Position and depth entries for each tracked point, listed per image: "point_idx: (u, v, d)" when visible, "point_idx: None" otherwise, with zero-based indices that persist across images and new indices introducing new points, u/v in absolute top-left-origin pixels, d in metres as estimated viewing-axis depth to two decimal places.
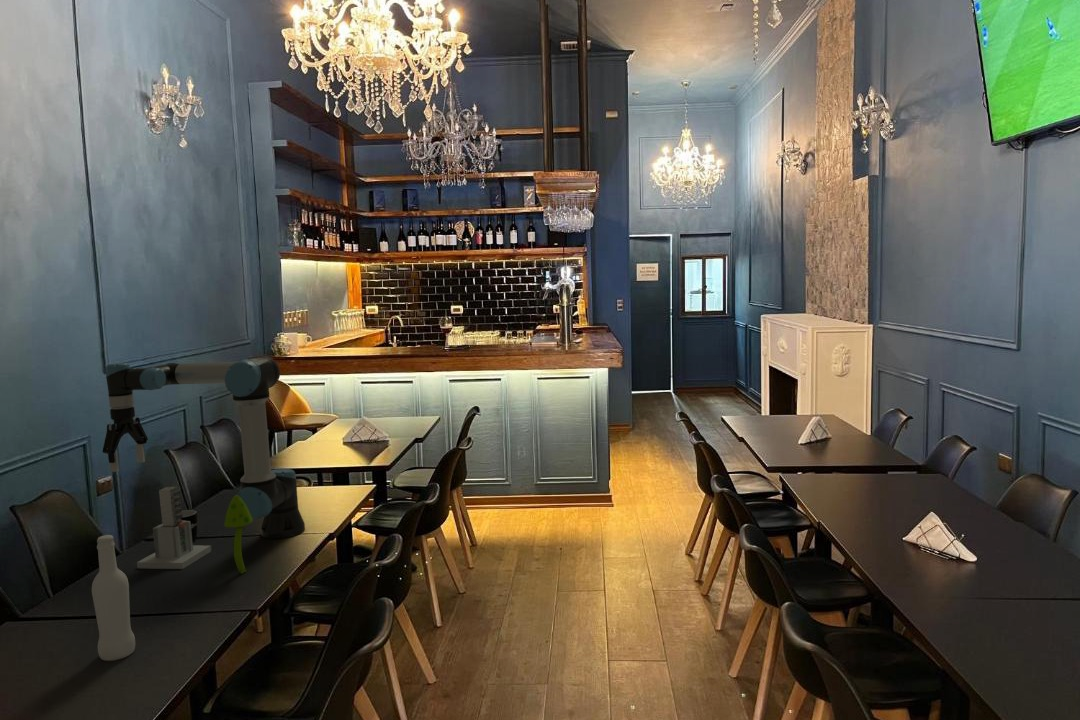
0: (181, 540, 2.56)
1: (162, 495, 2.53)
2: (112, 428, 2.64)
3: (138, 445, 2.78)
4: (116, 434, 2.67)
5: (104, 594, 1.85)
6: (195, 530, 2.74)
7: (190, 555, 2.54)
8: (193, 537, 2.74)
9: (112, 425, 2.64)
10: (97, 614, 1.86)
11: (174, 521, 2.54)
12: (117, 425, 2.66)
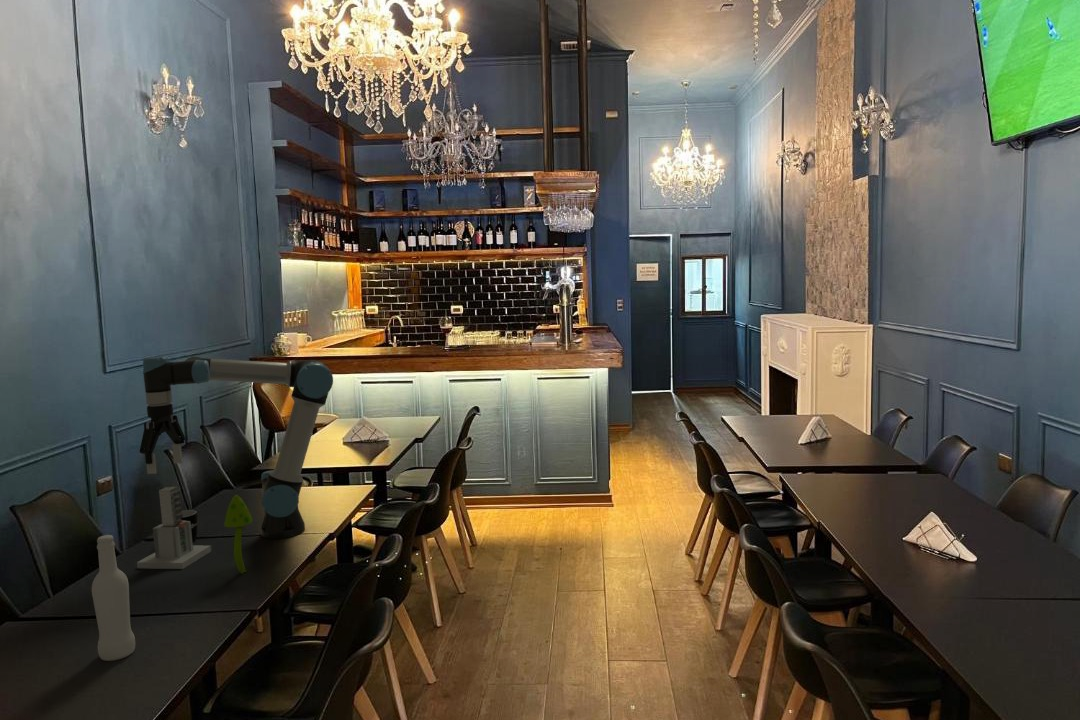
0: (181, 540, 2.56)
1: (162, 495, 2.53)
2: (150, 427, 2.45)
3: (175, 445, 2.59)
4: (153, 433, 2.48)
5: (104, 594, 1.85)
6: (195, 530, 2.74)
7: (190, 555, 2.54)
8: (193, 537, 2.74)
9: (150, 423, 2.45)
10: (97, 614, 1.86)
11: (174, 521, 2.54)
12: (155, 423, 2.48)
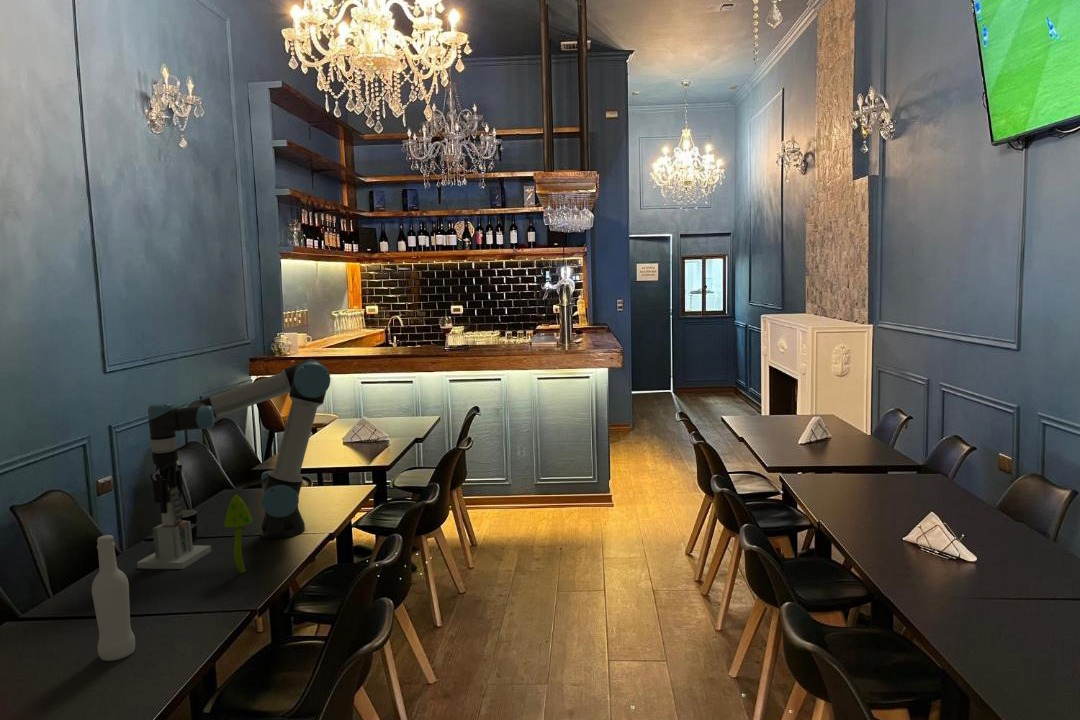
0: (181, 540, 2.56)
1: None
2: (157, 479, 2.47)
3: None
4: (162, 482, 2.51)
5: (104, 594, 1.85)
6: (195, 530, 2.74)
7: (190, 555, 2.54)
8: (193, 537, 2.74)
9: (156, 476, 2.47)
10: (97, 614, 1.86)
11: (174, 521, 2.54)
12: (160, 472, 2.49)
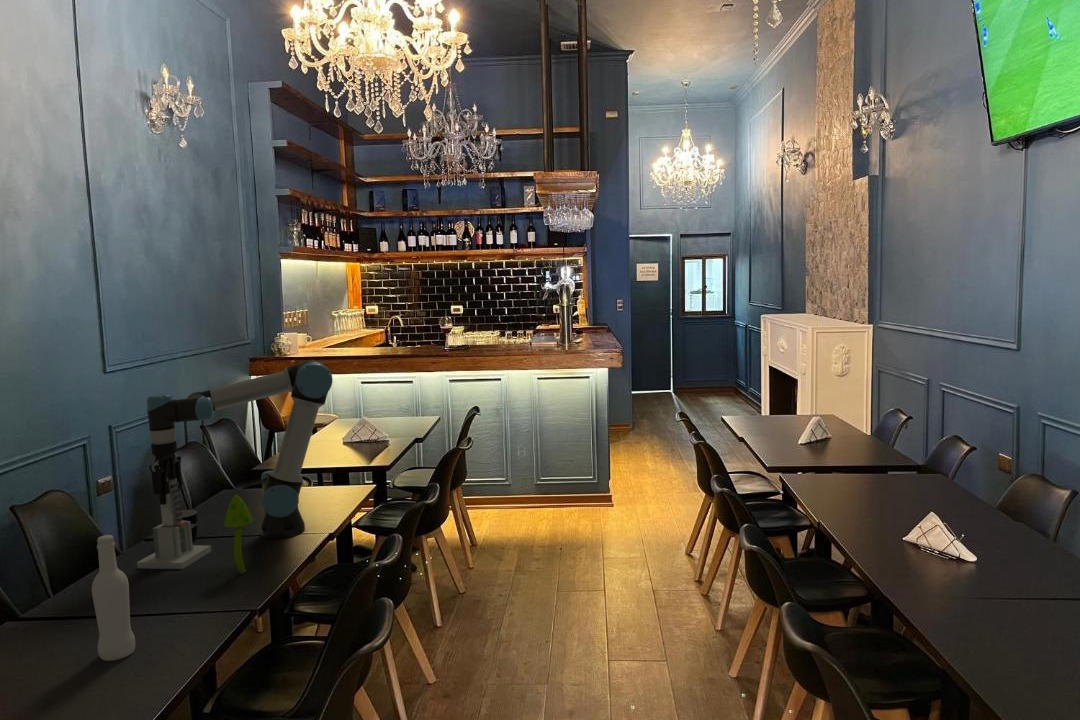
0: (180, 532, 2.55)
1: None
2: (156, 470, 2.47)
3: None
4: (161, 473, 2.51)
5: (104, 594, 1.85)
6: (195, 530, 2.74)
7: (190, 555, 2.54)
8: (193, 537, 2.74)
9: (155, 467, 2.47)
10: (97, 614, 1.86)
11: (173, 512, 2.53)
12: (159, 463, 2.49)
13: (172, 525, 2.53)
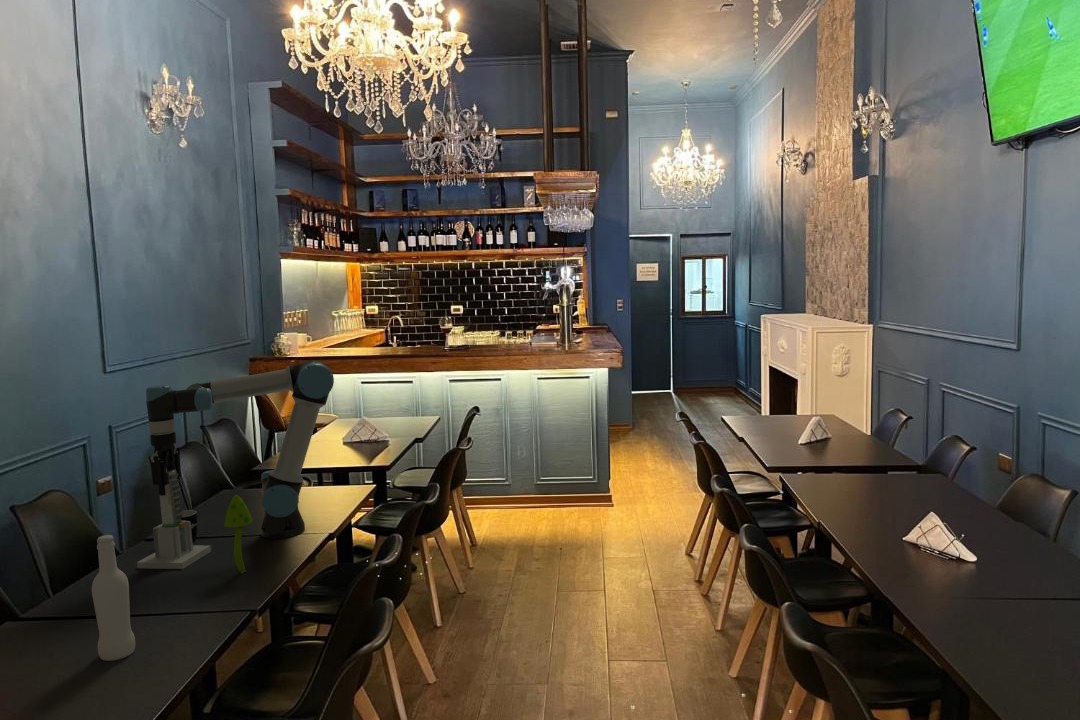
0: (179, 523, 2.55)
1: None
2: (155, 461, 2.47)
3: None
4: (160, 464, 2.51)
5: (104, 594, 1.85)
6: (195, 530, 2.74)
7: (190, 555, 2.54)
8: (193, 537, 2.74)
9: (154, 458, 2.46)
10: (97, 614, 1.86)
11: (172, 503, 2.53)
12: (158, 454, 2.49)
13: (171, 516, 2.53)
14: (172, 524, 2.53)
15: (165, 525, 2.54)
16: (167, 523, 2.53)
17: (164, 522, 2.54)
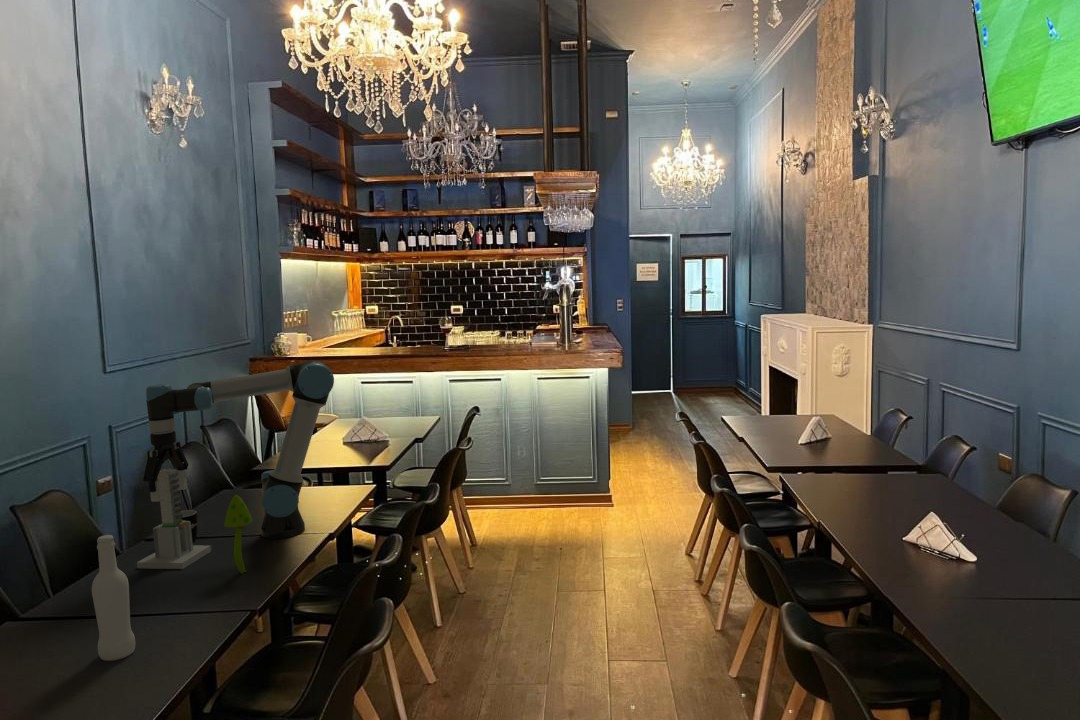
0: (179, 522, 2.55)
1: (160, 477, 2.52)
2: (153, 455, 2.46)
3: (179, 471, 2.60)
4: (157, 461, 2.49)
5: (104, 594, 1.85)
6: (195, 530, 2.74)
7: (190, 555, 2.54)
8: (193, 537, 2.74)
9: (153, 452, 2.46)
10: (97, 614, 1.86)
11: (172, 503, 2.53)
12: (158, 451, 2.49)
13: (171, 515, 2.53)
14: (172, 523, 2.53)
15: (165, 524, 2.54)
16: (167, 523, 2.53)
17: (164, 521, 2.53)
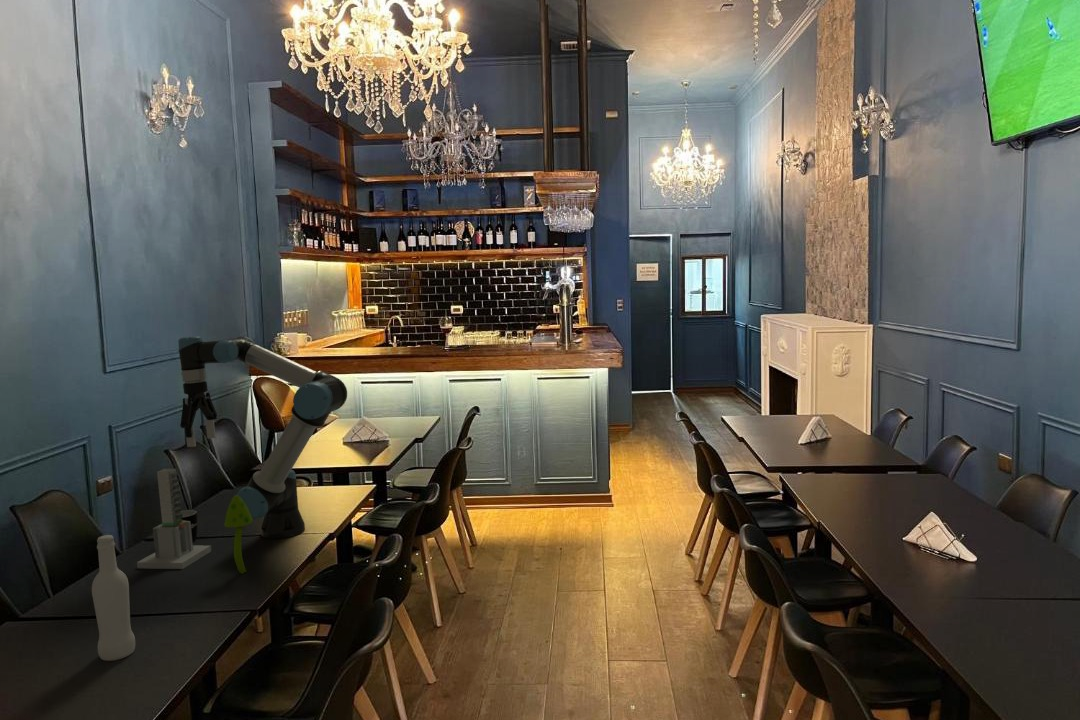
0: (179, 522, 2.55)
1: (160, 477, 2.52)
2: (188, 402, 2.59)
3: (209, 421, 2.73)
4: (191, 408, 2.62)
5: (104, 594, 1.85)
6: (195, 530, 2.74)
7: (190, 555, 2.54)
8: (193, 537, 2.74)
9: (188, 399, 2.59)
10: (97, 614, 1.86)
11: (172, 503, 2.53)
12: (192, 399, 2.62)
13: (171, 515, 2.53)
14: (172, 523, 2.53)
15: (165, 524, 2.54)
16: (167, 523, 2.53)
17: (164, 521, 2.53)
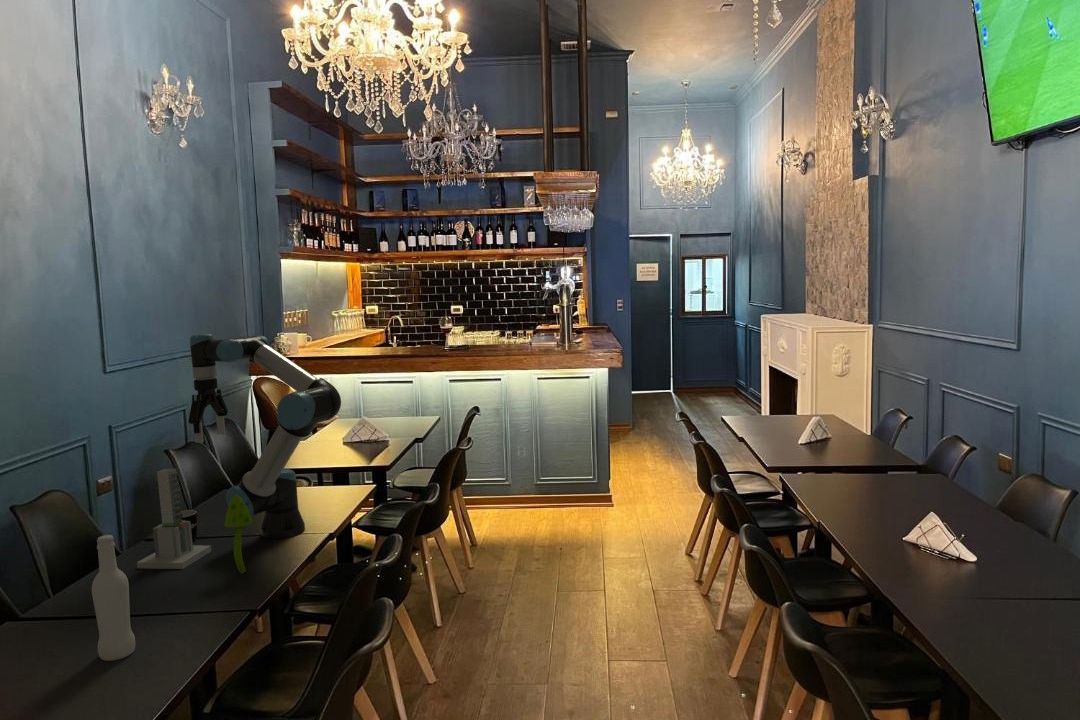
0: (179, 522, 2.55)
1: (160, 477, 2.52)
2: (197, 398, 2.63)
3: (219, 417, 2.78)
4: (200, 405, 2.67)
5: (104, 594, 1.85)
6: (195, 530, 2.74)
7: (190, 555, 2.54)
8: (193, 537, 2.74)
9: (197, 395, 2.63)
10: (97, 614, 1.86)
11: (172, 503, 2.53)
12: (201, 396, 2.66)
13: (171, 515, 2.53)
14: (172, 523, 2.53)
15: (165, 524, 2.54)
16: (167, 523, 2.53)
17: (164, 521, 2.53)
